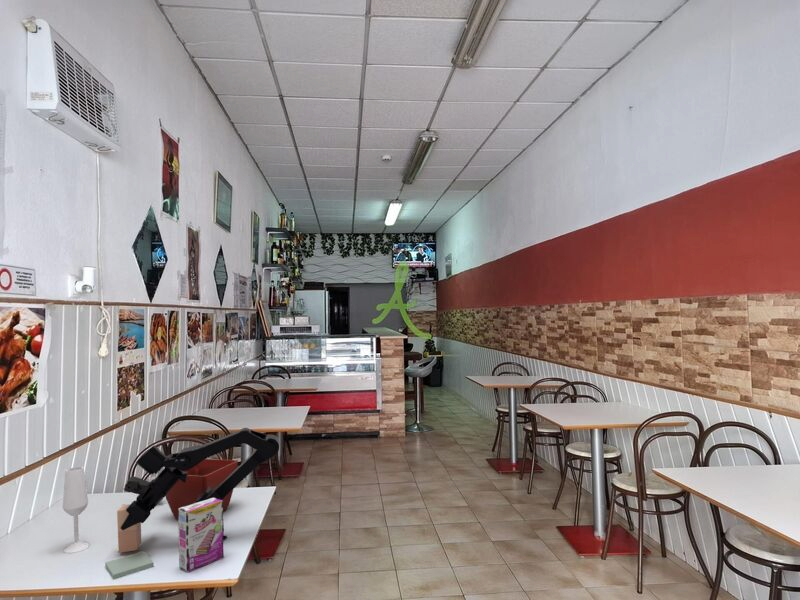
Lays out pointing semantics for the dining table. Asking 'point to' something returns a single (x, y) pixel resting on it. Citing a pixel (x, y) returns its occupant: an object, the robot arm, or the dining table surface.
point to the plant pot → (200, 483)
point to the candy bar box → (200, 533)
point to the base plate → (129, 564)
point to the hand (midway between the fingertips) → (124, 525)
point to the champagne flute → (75, 502)
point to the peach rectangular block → (127, 532)
